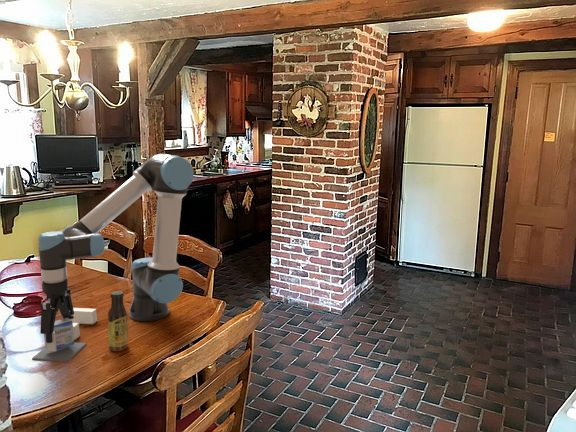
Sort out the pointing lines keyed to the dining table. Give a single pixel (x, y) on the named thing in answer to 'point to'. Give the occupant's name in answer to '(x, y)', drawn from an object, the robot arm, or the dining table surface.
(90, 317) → the slot stand
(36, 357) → the rubber mat
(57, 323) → the medicine box
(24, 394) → the dining table surface
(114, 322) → the sauce bottle
